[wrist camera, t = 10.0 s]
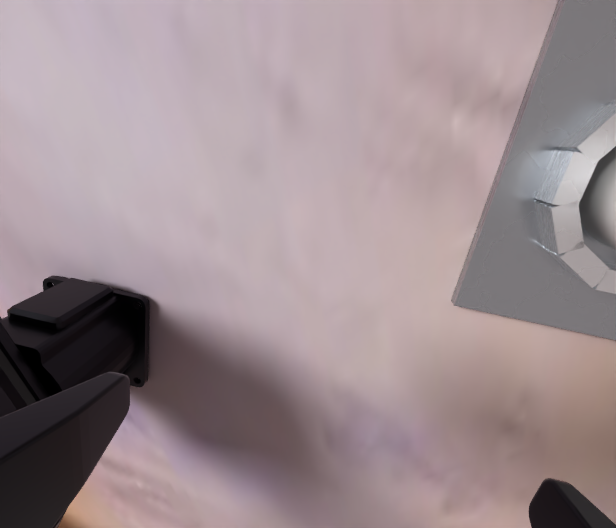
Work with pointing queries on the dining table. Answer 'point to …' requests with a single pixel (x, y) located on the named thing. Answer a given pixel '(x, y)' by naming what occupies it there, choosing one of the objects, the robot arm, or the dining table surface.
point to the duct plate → (552, 187)
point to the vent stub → (601, 202)
